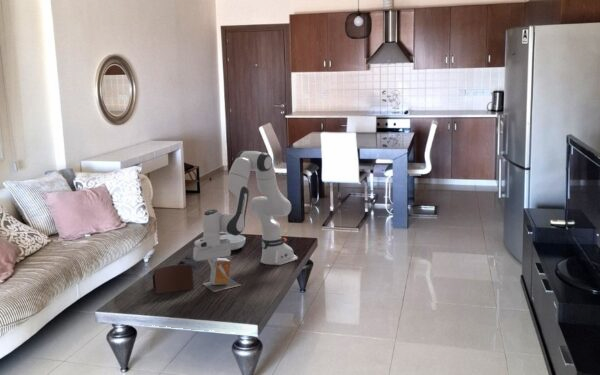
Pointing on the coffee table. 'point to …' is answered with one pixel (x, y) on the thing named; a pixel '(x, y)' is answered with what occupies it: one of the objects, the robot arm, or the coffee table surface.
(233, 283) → the mat
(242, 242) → the serving bowl
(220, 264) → the small box
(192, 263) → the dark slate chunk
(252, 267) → the coffee table surface
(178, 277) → the letter holder
